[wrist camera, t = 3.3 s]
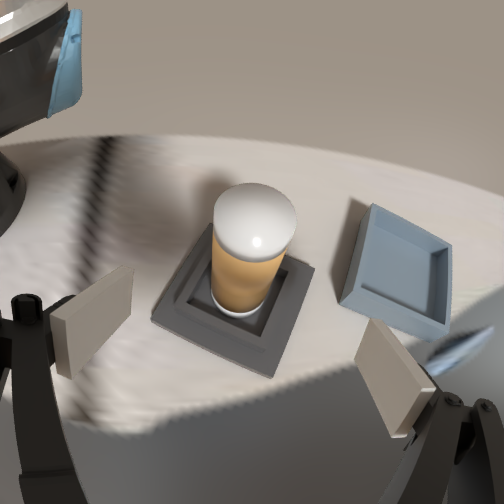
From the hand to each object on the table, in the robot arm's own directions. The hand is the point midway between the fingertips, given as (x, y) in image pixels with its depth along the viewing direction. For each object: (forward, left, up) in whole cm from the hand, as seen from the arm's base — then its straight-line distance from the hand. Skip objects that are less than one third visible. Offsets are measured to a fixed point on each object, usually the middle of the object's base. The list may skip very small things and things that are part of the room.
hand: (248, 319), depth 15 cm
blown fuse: (-2, +6, -11) cm, 13 cm away
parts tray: (+14, +16, -12) cm, 24 cm away
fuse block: (-2, +6, -12) cm, 14 cm away
